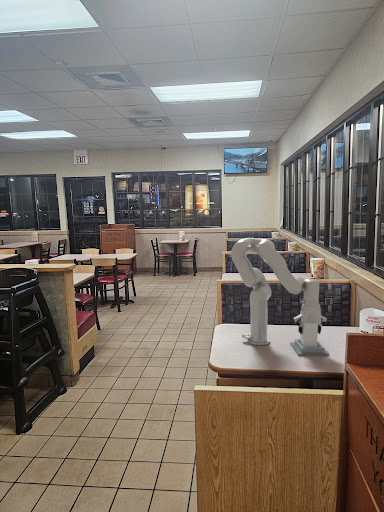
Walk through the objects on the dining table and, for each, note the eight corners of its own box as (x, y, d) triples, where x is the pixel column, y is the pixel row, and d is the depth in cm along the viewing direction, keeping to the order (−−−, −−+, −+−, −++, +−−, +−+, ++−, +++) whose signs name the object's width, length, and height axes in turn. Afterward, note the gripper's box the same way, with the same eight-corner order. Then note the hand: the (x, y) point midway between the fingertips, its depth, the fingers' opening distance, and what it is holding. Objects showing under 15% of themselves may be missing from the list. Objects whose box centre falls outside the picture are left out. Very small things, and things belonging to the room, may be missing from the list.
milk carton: (313, 345, 195) (314, 311, 192) (316, 350, 188) (318, 316, 185) (299, 344, 196) (301, 311, 193) (303, 350, 189) (304, 316, 186)
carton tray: (298, 355, 185) (298, 349, 184) (290, 344, 200) (290, 338, 199) (329, 355, 185) (329, 349, 184) (318, 343, 200) (318, 337, 199)
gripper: (296, 304, 184) (295, 336, 187) (330, 304, 184) (328, 335, 187) (292, 300, 192) (291, 330, 194) (324, 300, 192) (323, 330, 194)
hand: (309, 333), depth 191 cm, fingers open, 9 cm apart
